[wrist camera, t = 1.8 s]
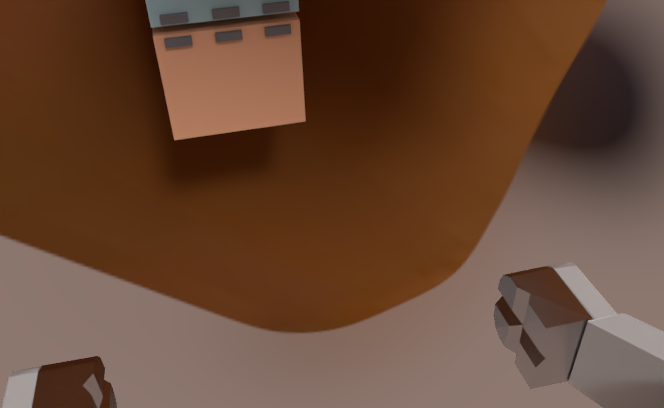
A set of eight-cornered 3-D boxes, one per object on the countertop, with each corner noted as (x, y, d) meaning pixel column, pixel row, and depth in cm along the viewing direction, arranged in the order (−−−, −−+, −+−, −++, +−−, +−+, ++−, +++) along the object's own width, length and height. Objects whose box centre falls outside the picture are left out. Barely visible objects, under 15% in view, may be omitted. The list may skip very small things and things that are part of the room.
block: (169, 84, 27) (174, 142, 23) (151, -9, 24) (152, 38, 20) (282, 69, 28) (306, 123, 24) (275, -22, 25) (300, 21, 21)
